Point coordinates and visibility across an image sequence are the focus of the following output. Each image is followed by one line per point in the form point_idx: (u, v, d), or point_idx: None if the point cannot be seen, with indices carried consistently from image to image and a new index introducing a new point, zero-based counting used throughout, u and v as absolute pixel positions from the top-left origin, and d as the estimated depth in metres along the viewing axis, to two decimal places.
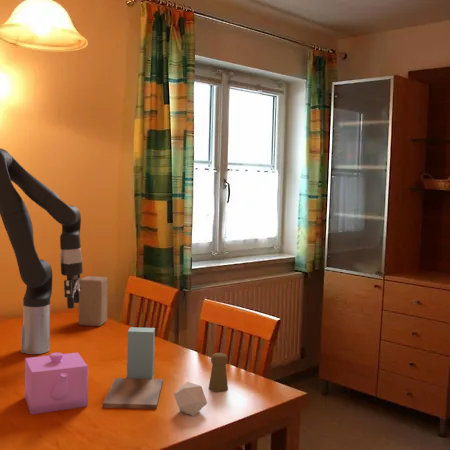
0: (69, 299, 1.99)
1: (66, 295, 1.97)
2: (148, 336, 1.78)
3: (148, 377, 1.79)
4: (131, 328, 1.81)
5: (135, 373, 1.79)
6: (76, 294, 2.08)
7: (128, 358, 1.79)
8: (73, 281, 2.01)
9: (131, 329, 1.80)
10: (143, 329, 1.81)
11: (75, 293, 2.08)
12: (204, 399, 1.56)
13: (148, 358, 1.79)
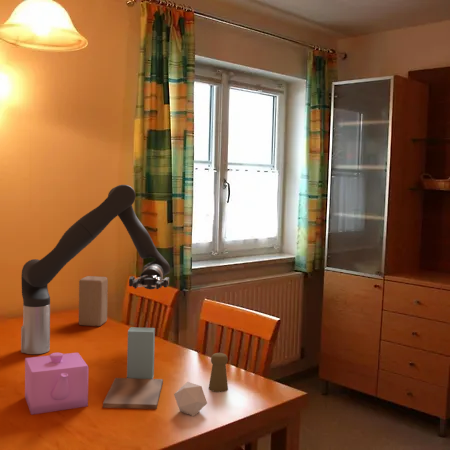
0: (161, 284, 1.93)
1: (166, 281, 1.95)
2: (148, 336, 1.78)
3: (148, 377, 1.79)
4: (131, 328, 1.81)
5: (135, 373, 1.79)
6: (137, 284, 1.93)
7: (128, 358, 1.79)
8: None
9: (131, 329, 1.80)
10: (143, 329, 1.81)
11: (137, 283, 1.93)
12: (204, 399, 1.56)
13: (148, 358, 1.79)
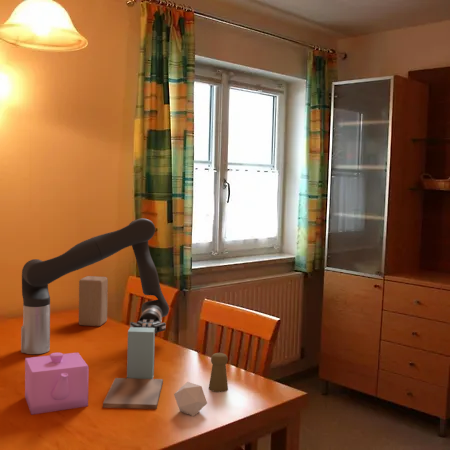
0: None
1: (155, 327, 1.94)
2: (148, 336, 1.78)
3: (148, 377, 1.79)
4: (131, 328, 1.81)
5: (135, 373, 1.79)
6: None
7: (128, 358, 1.79)
8: None
9: (131, 329, 1.80)
10: (143, 329, 1.81)
11: None
12: (204, 399, 1.56)
13: (148, 358, 1.79)
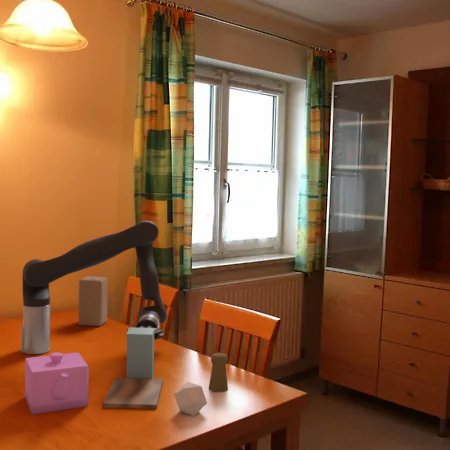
0: None
1: None
2: (147, 338, 1.76)
3: (148, 377, 1.79)
4: (130, 329, 1.79)
5: (135, 374, 1.79)
6: None
7: (127, 359, 1.78)
8: None
9: (130, 330, 1.78)
10: (142, 330, 1.78)
11: None
12: (204, 399, 1.56)
13: (148, 359, 1.78)
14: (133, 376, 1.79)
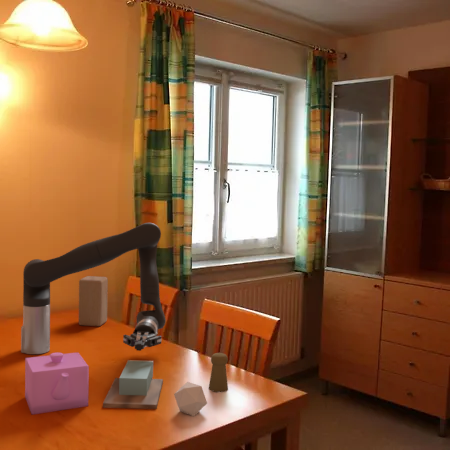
0: (144, 344, 1.78)
1: (150, 341, 1.80)
2: None
3: None
4: (121, 383, 1.64)
5: None
6: None
7: None
8: None
9: (121, 386, 1.64)
10: (135, 386, 1.64)
11: None
12: (204, 399, 1.56)
13: None
14: None
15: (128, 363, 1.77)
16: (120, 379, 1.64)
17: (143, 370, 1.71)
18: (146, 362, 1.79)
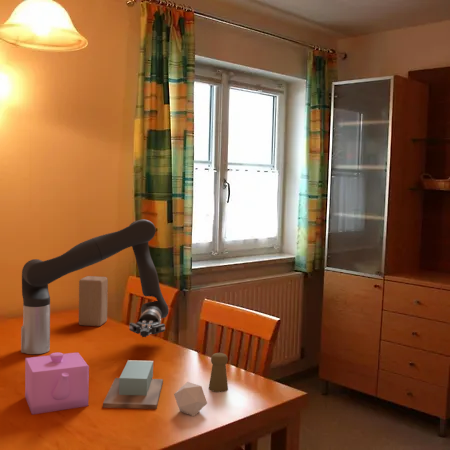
0: (149, 331, 1.92)
1: (154, 328, 1.93)
2: None
3: None
4: (121, 383, 1.64)
5: None
6: None
7: None
8: None
9: (121, 386, 1.64)
10: (135, 386, 1.64)
11: None
12: (204, 399, 1.56)
13: None
14: None
15: (128, 363, 1.77)
16: (120, 379, 1.64)
17: (143, 370, 1.71)
18: (146, 362, 1.79)
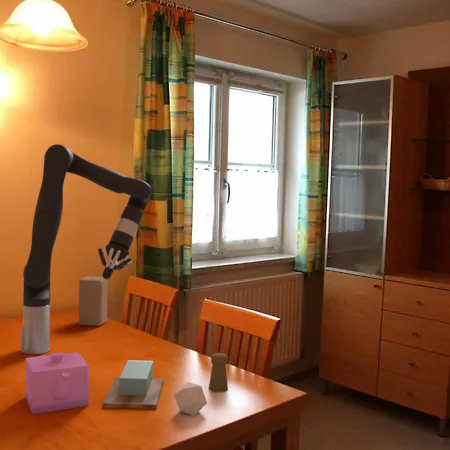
0: (112, 271, 1.96)
1: (118, 268, 1.96)
2: None
3: None
4: (121, 383, 1.64)
5: None
6: None
7: None
8: None
9: (121, 386, 1.64)
10: (135, 386, 1.64)
11: None
12: (204, 399, 1.56)
13: None
14: None
15: (128, 363, 1.77)
16: (120, 379, 1.64)
17: (143, 370, 1.71)
18: (146, 362, 1.79)
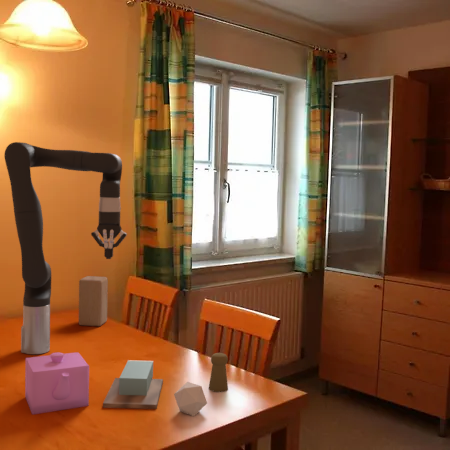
0: (112, 249, 2.01)
1: (117, 245, 2.00)
2: None
3: None
4: (121, 383, 1.64)
5: None
6: None
7: None
8: None
9: (121, 386, 1.64)
10: (135, 386, 1.64)
11: (108, 248, 2.01)
12: (204, 399, 1.56)
13: None
14: None
15: (128, 363, 1.77)
16: (120, 379, 1.64)
17: (143, 370, 1.71)
18: (146, 362, 1.79)
